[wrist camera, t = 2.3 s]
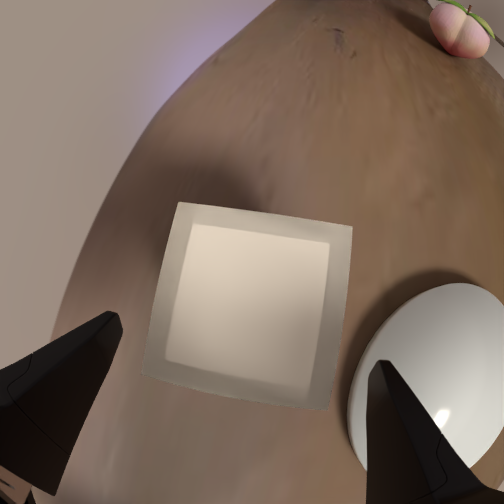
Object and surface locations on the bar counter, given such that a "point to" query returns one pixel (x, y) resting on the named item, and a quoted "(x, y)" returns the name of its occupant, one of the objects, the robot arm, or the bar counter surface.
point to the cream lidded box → (250, 306)
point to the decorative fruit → (460, 30)
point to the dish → (442, 366)
